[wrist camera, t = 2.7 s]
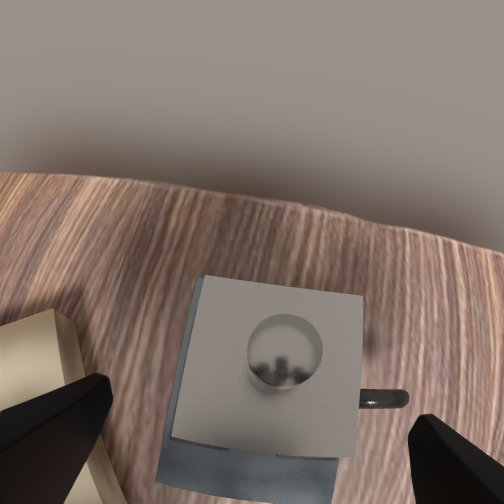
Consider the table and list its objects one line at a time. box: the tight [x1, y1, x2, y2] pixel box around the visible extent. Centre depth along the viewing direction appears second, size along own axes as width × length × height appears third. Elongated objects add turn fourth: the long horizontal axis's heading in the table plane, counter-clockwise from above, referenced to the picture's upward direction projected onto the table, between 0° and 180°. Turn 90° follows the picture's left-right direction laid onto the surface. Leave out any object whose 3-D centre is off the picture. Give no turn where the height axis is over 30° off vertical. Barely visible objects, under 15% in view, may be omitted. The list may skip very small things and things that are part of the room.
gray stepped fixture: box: [156, 277, 409, 504], centre depth 13 cm, size 12×12×8 cm
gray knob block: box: [171, 275, 363, 457], centre depth 9 cm, size 4×4×8 cm
